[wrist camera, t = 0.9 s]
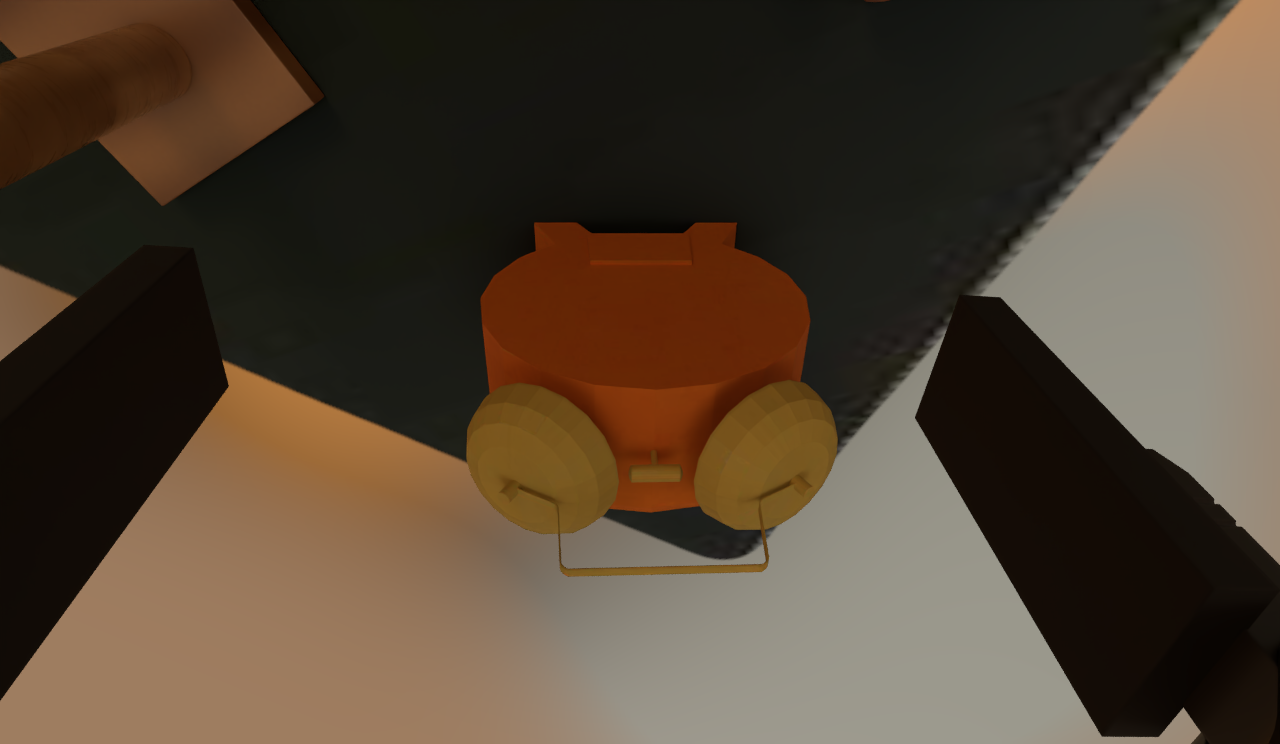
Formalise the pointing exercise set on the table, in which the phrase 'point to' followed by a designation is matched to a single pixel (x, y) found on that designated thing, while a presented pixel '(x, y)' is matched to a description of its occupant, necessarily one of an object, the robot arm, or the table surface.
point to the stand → (143, 86)
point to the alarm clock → (647, 386)
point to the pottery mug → (875, 0)
